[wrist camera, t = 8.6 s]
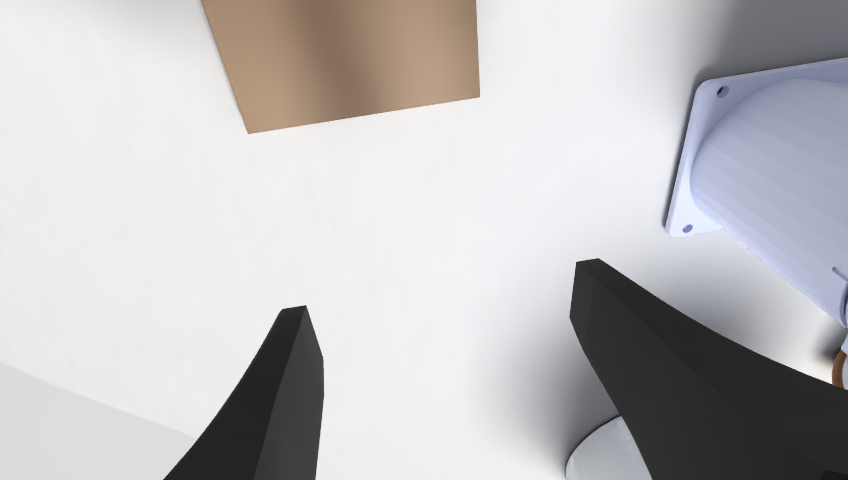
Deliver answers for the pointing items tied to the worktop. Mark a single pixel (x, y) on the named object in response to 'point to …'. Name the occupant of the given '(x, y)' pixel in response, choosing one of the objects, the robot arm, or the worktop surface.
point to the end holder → (343, 57)
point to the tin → (840, 370)
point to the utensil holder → (608, 456)
